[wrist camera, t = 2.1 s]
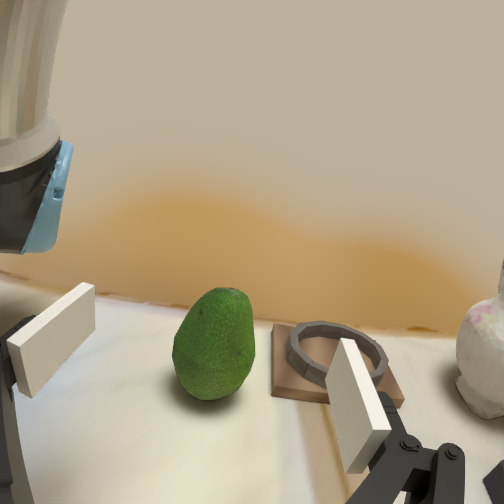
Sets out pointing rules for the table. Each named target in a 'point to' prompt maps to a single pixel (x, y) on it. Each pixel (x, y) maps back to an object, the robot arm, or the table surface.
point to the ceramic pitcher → (483, 356)
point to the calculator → (496, 484)
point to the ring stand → (322, 361)
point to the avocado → (215, 344)
